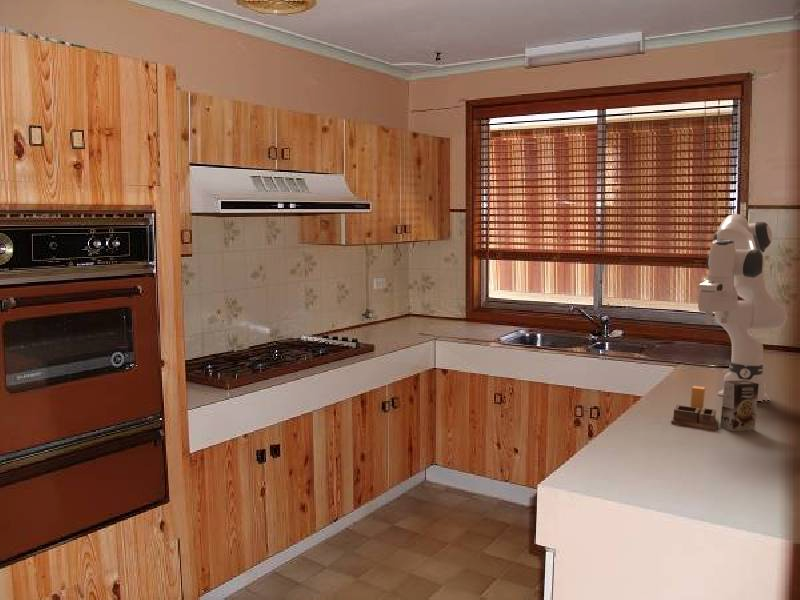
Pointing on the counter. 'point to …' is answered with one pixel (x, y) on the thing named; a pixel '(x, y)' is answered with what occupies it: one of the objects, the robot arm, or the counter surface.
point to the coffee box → (739, 405)
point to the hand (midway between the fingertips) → (716, 323)
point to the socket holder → (695, 417)
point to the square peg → (698, 397)
